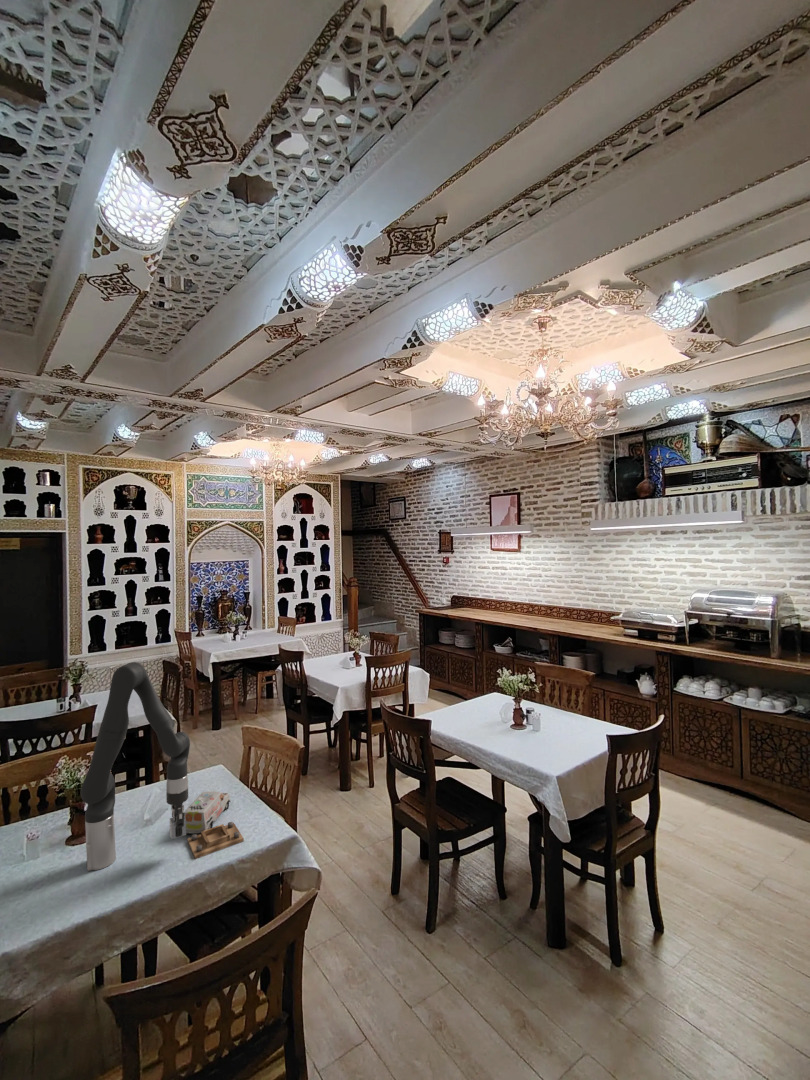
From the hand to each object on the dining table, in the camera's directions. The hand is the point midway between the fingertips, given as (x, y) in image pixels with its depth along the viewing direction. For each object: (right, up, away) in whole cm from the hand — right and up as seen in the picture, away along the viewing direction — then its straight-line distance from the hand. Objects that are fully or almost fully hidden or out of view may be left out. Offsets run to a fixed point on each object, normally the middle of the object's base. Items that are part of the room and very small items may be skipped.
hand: (177, 833), depth 193 cm
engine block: (0, -1, 0) cm, 1 cm away
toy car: (+2, -9, +25) cm, 26 cm away
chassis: (+11, -8, +8) cm, 16 cm away
